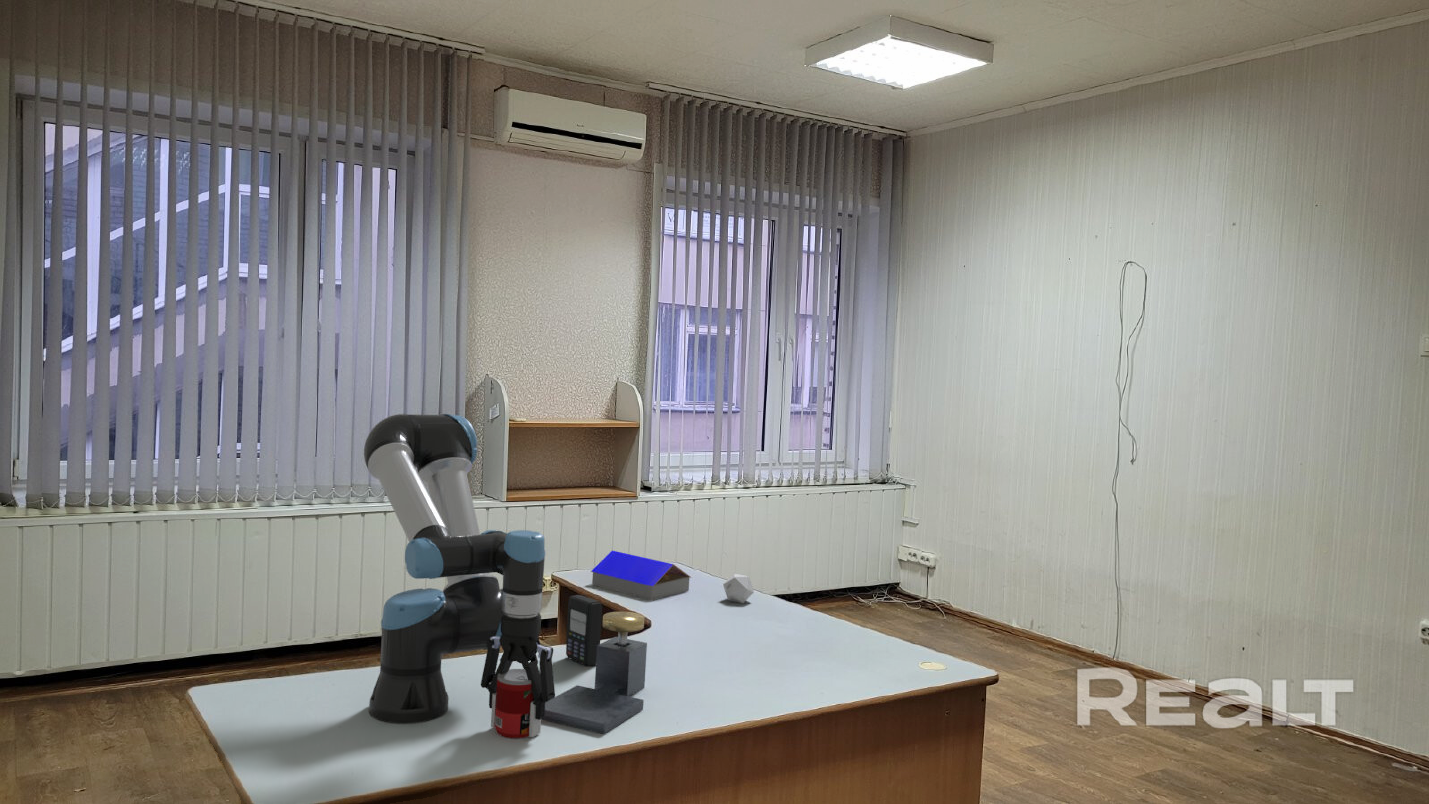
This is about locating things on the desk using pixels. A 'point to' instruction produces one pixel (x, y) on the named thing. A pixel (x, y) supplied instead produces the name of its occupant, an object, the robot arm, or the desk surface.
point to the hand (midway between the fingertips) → (515, 729)
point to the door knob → (623, 624)
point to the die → (738, 588)
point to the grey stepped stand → (604, 690)
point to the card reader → (583, 629)
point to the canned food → (513, 704)
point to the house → (639, 576)
